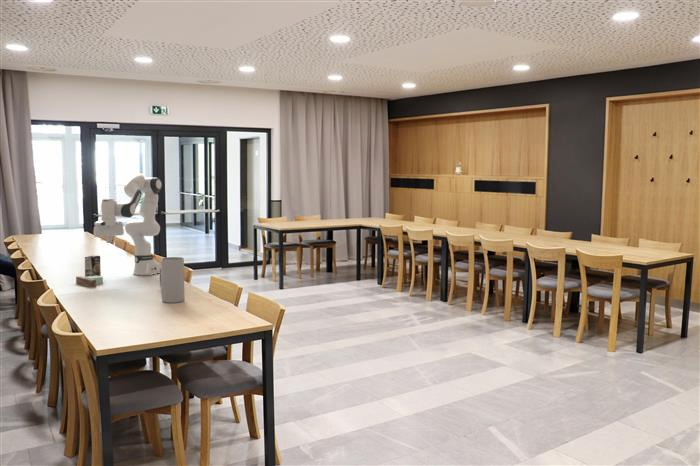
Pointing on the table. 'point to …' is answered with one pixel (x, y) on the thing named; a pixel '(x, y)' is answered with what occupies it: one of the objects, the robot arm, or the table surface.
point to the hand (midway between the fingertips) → (109, 242)
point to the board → (86, 281)
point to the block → (97, 279)
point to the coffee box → (92, 266)
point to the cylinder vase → (172, 279)
